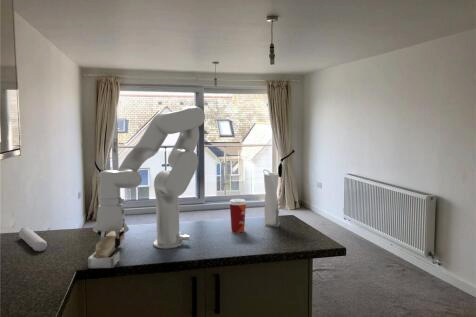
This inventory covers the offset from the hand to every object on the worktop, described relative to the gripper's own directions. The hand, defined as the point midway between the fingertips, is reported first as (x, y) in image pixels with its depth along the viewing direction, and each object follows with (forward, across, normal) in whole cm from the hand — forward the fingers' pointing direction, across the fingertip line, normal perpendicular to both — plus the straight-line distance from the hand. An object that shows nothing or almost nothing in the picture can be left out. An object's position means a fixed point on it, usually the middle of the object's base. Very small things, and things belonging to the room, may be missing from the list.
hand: (111, 246), depth 149 cm
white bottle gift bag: (+2, -67, -41) cm, 79 cm away
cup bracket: (+3, 0, +9) cm, 9 cm away
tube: (+4, +37, -13) cm, 40 cm away
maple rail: (0, 0, 0) cm, 0 cm away
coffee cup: (+2, -50, -30) cm, 59 cm away
